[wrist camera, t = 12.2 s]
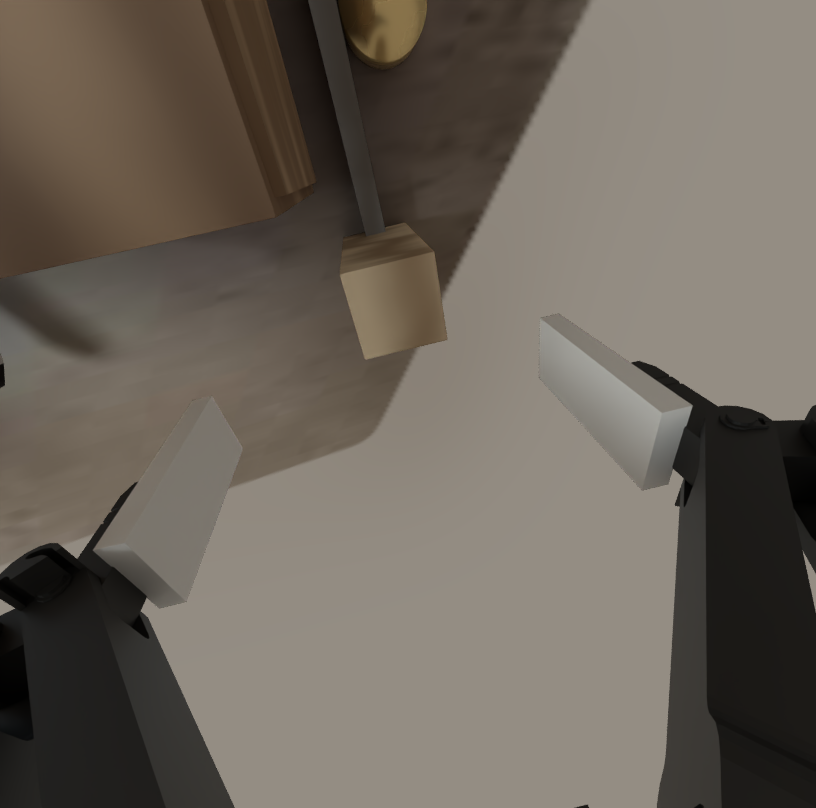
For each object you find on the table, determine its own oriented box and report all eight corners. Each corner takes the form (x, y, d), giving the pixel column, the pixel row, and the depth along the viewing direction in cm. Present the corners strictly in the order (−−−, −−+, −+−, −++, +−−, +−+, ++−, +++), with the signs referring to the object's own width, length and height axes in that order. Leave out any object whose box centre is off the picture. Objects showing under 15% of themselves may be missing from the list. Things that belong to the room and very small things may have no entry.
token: (351, 78, 24) (351, 69, 22) (328, -36, 21) (325, -57, 19) (426, 60, 24) (433, 50, 22) (412, -55, 21) (418, -78, 19)
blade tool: (360, 298, 31) (365, 359, 21) (256, -76, 20) (159, -326, 10) (416, 285, 31) (447, 339, 21) (345, -98, 20) (341, -370, 10)
